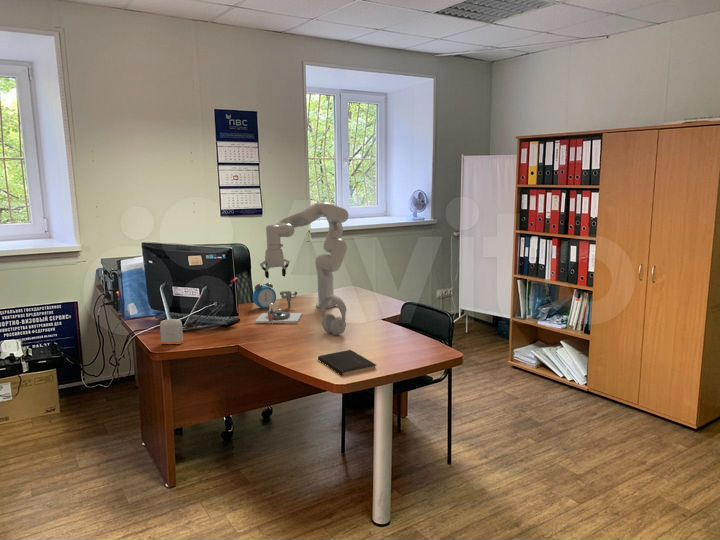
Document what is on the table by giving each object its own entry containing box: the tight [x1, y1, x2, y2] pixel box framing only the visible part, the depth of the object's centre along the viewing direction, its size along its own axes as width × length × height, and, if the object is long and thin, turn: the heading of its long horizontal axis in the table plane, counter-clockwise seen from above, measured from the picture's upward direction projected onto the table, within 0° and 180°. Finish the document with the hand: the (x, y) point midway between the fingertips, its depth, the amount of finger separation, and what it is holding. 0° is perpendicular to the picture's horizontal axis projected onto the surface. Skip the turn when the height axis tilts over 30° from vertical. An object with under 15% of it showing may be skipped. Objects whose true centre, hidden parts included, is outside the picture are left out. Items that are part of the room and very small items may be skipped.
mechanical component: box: [279, 290, 298, 309], centre depth 332 cm, size 3×10×10 cm, turn 89°
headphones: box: [320, 294, 347, 336], centre depth 275 cm, size 18×8×20 cm, turn 39°
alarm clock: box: [252, 282, 277, 310], centre depth 333 cm, size 13×6×15 cm, turn 125°
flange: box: [267, 303, 291, 319], centre depth 307 cm, size 15×12×6 cm
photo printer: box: [159, 318, 184, 343], centre depth 265 cm, size 10×4×12 cm, turn 94°
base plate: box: [254, 312, 303, 325], centre depth 306 cm, size 23×17×4 cm
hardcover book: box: [317, 349, 378, 377], centre depth 233 cm, size 16×23×2 cm
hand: (275, 277), depth 311 cm, fingers open, 9 cm apart
